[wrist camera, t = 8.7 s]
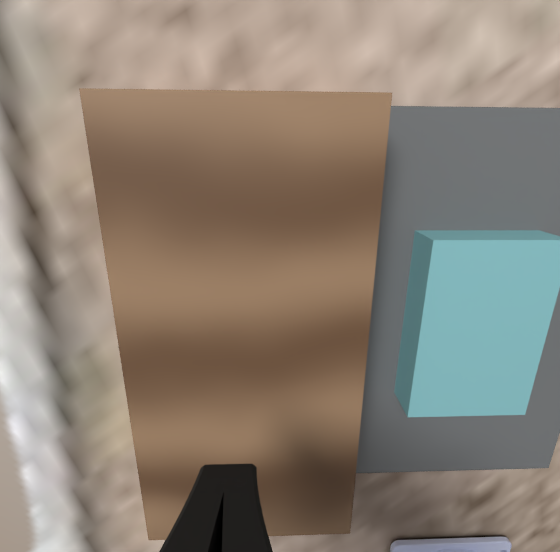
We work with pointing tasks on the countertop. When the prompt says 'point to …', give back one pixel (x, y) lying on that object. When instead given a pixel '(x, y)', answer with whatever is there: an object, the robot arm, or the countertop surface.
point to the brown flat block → (242, 287)
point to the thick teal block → (475, 320)
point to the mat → (459, 216)
